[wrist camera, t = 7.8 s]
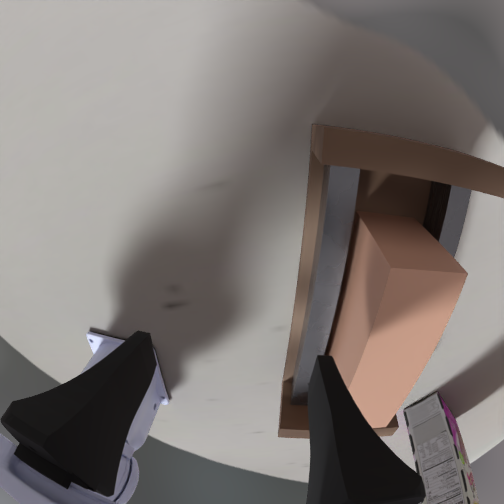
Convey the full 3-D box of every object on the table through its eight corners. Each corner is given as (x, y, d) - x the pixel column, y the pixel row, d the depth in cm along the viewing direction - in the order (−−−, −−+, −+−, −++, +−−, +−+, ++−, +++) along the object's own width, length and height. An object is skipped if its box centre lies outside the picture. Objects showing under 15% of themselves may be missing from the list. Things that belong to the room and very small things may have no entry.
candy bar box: (457, 417, 27) (482, 515, 13) (426, 434, 29) (444, 531, 14) (439, 387, 24) (473, 516, 10) (401, 409, 26) (421, 536, 12)
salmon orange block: (371, 356, 22) (385, 427, 15) (324, 355, 22) (329, 429, 16) (414, 218, 16) (467, 273, 10) (356, 210, 17) (391, 267, 10)
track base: (381, 385, 25) (392, 435, 19) (282, 383, 25) (277, 436, 20) (456, 151, 15) (511, 170, 9) (312, 124, 16) (324, 127, 10)
